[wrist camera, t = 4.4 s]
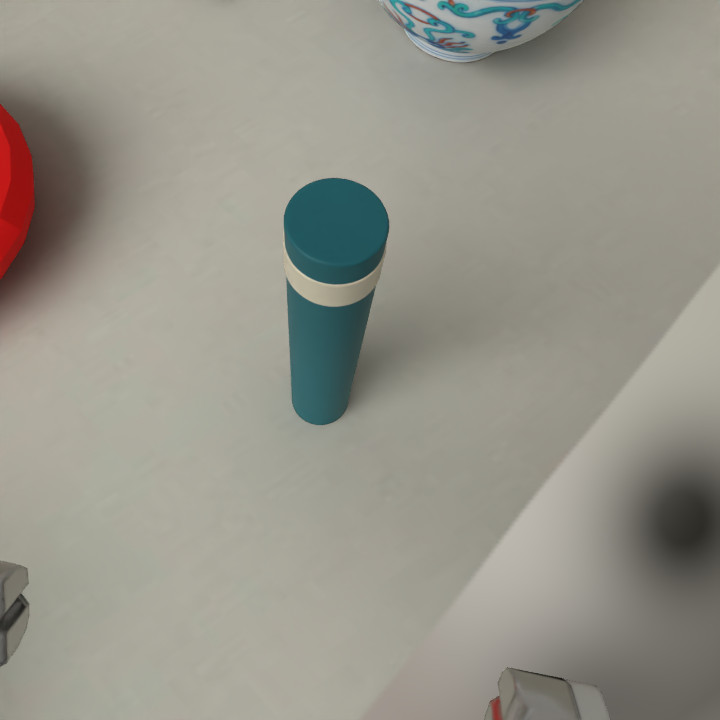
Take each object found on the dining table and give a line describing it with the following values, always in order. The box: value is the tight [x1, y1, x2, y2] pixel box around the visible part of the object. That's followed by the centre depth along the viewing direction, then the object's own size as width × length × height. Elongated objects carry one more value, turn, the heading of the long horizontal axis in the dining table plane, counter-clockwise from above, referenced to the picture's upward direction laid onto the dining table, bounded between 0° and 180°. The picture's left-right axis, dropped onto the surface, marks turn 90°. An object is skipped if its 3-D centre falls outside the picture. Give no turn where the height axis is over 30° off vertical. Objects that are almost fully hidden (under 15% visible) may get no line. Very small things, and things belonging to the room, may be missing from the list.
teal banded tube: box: [283, 178, 389, 425], centre depth 21 cm, size 3×3×14 cm
